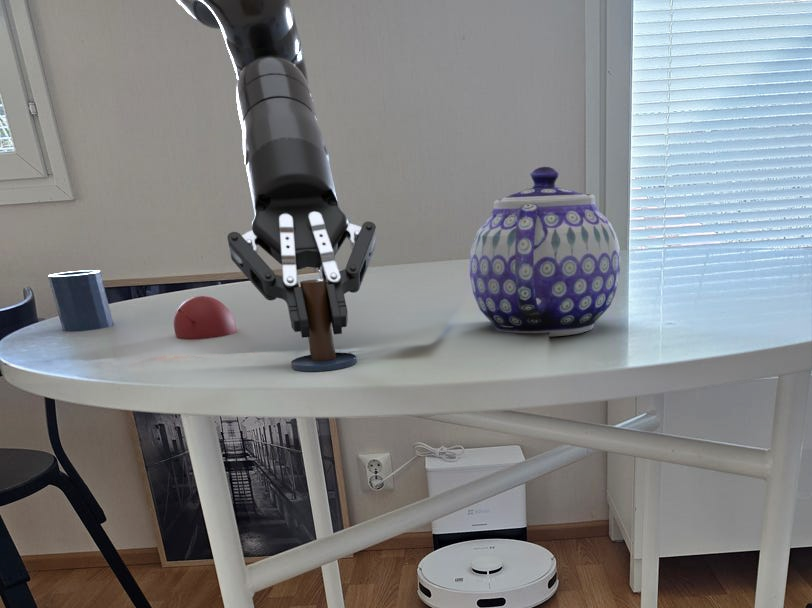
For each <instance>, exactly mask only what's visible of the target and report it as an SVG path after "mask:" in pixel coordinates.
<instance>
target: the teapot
mask: <svg viewBox="0 0 812 608" xmlns="http://www.w3.org/2000/svg"><path fill="white" fill-rule="evenodd" d="M529 175H530V177H531V180H532V181H533V186H532V187H531V188H526V189H523V190H520V191H518V192H514V193H511V194H510V195H507V196H505V197H503V198H502V199H496V200H494V202H493V209H492V211H491V212H490V216H488V217H487V218H486V220H485V222H484V223H483V224H482V226H480V227H479V229H478V231H476V234H475V237H474V239H473V242H472V245H471V248H470V252H469V253H470V254H469V278H470V285H471V291H472V295H473V296H474V300H475V302H476V304H477V306H478V309H479V311H480V312H481V313H482V314H483V315H484V317H486V319H487V320H489V322H490V323H491V324H492V326H494V328H495V329H496V330H497V331H499V332H500V331H501V332H504V333H505V332H506V333H516V334H517V333H518V334H546V333H548V334H549V335H548V337H563V336H571V335H579V334H583V333H584V332H585V333H586V332H588V331H591V330H592V329H593V328H594V325H595V323H596V322H597V321H598V320H599V319H600V318H601V317H602V316H603V315H604V314H605V312H606V311H607V310H608V309H609V308H610V306H611V305H612V303H613V300H614V298H615V296H616V293H617V289H618V285H619V279H620V273H621V249H620V243H619V239H618V236H617V233H616V231H615V228H614V227H613V225H612V224H611V222H610V221H609V219H608V218H607V217H606V216H605V215H604V214H603V213H601V211H600V210H599V209H598V206H597V205H596V196H595V194H590V193H582V192H578V191H575V190H570V189H567V188H562V187H558V186H556V182H557V180H558V178H559V176H560V173H559V172H558V171H557V170H556V169H554V168H553V167H551V166H541V167H537V168H535V169H534V170H533V171H532V172H531V173H530V174H529Z"/></svg>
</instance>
